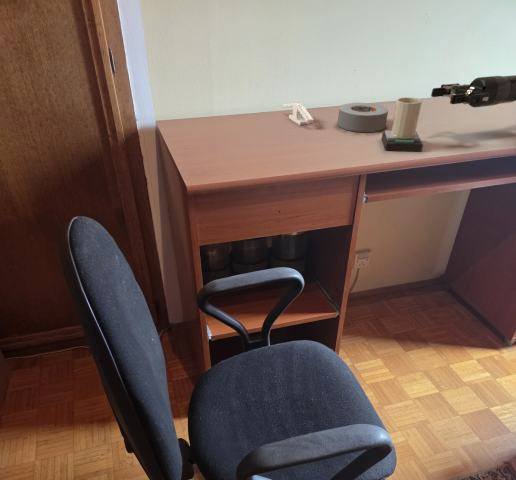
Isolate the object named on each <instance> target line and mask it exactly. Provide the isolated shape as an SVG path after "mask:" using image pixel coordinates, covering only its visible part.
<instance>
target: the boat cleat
mask: <svg viewBox="0 0 516 480" xmlns="http://www.w3.org/2000/svg"><path fill="white" fill-rule="evenodd" d="M282 107H283V108H291V107H292V114H289V115H288V118H289V119H290V120H292V121H293V122H295V123H296V124H297V125H299V126H304V125H311V124H312V123H314V121H315V119H314V118H313V116H312V115H311V114H310V113H309V111H308V110H307V108H306V106H304V104H303V103H302V102H292V103H284V104H283V105H282Z"/></svg>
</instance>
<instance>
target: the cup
mask: <svg viewBox="0 0 516 480" xmlns="http://www.w3.org/2000/svg"><path fill="white" fill-rule="evenodd" d="M422 104H423V101H422V99H420V98H417V97H399V98H397V99H396V102H395V108H394V113H393V119H392V123H391V136H393V137H395V138H401V139H409V138H413V137H414V136H415V132H417V129H418V128H417V127H418V123H419V118H420V113H421V109H422Z"/></svg>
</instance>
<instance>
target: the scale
mask: <svg viewBox="0 0 516 480" xmlns="http://www.w3.org/2000/svg"><path fill="white" fill-rule="evenodd" d="M391 130H392V129H391ZM391 130H386V129H384V132H382V135H381V142H382V145H383V149H384V151H385V152H413V153H417V152H418V153H419V152H420V153H421V152H423V151H422V150H423V147H424V144H423V142H422V139H421V137H420V135H419V134H418V132H417V131H416V132H415V136H414V137H413V138H409V139H401V138H395V137H393V136H391Z"/></svg>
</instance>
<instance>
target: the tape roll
mask: <svg viewBox="0 0 516 480" xmlns="http://www.w3.org/2000/svg"><path fill="white" fill-rule="evenodd" d="M388 113H389V109H388V108H387V107H385V106H383V105H380V104H375V103H371V102H370V103H369V102H350V103H345V104H341V105H340V106H339V107H338V116H337V126H338V127H339V128H341V129H342V130H346V131H349V132H356V133H376V132H380V131H383V130H385V129H386V125H387V124H386V123H387V120H388V115H389V114H388Z"/></svg>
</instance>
